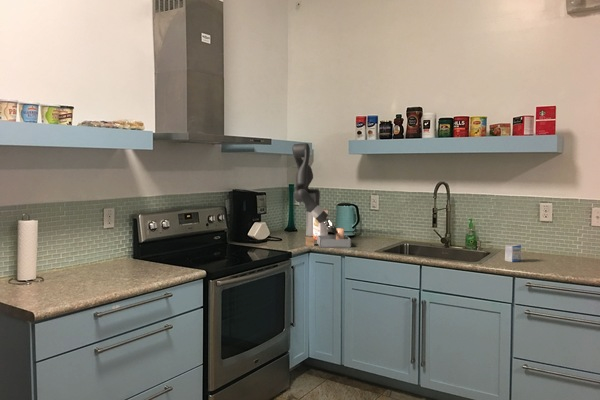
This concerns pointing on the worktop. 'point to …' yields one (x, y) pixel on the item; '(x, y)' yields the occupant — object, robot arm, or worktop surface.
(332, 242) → the tote
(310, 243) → the walnut block
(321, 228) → the cracker box
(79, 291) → the worktop surface
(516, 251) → the medicine box
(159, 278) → the worktop surface
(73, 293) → the worktop surface
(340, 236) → the spice jar
